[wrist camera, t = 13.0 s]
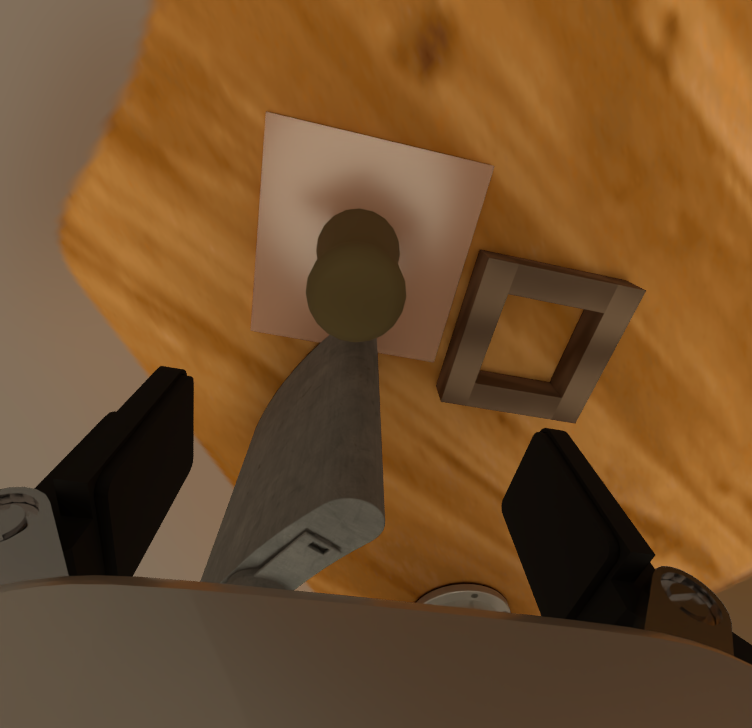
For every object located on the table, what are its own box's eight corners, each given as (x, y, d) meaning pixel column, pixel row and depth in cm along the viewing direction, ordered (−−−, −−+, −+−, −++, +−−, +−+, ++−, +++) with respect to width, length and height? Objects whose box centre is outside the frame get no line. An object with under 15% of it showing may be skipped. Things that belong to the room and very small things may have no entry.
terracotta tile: (432, 359, 34) (433, 362, 34) (252, 327, 33) (250, 330, 32) (492, 165, 28) (494, 166, 27) (267, 112, 26) (266, 111, 25)
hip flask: (278, 452, 39) (206, 717, 21) (240, 431, 37) (131, 697, 20) (384, 334, 32) (404, 575, 15) (344, 305, 31) (315, 532, 14)
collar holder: (562, 406, 37) (575, 423, 35) (436, 385, 36) (440, 401, 33) (626, 280, 32) (646, 290, 29) (479, 249, 30) (489, 257, 28)
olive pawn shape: (348, 307, 31) (341, 379, 22) (299, 240, 29) (266, 287, 19) (415, 264, 30) (440, 320, 20) (369, 189, 27) (373, 213, 18)
